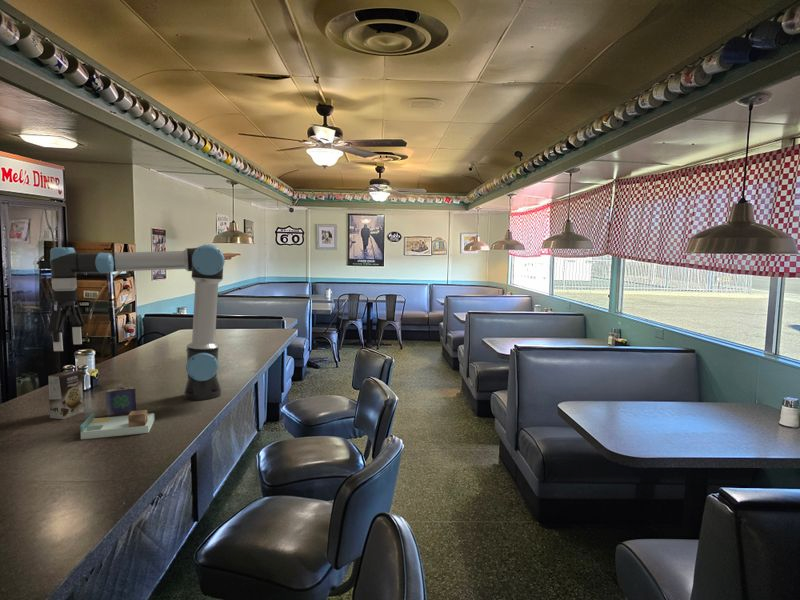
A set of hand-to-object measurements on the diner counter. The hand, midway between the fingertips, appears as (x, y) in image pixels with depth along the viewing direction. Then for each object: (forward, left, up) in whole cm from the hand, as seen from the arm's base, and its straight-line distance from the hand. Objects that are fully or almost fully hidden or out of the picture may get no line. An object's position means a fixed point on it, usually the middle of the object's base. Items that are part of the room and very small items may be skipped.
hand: (68, 347), depth 182 cm
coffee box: (+2, -3, -27) cm, 27 cm away
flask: (-17, +1, -27) cm, 31 cm away
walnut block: (-26, +24, -24) cm, 42 cm away
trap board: (-20, +20, -26) cm, 38 cm away
